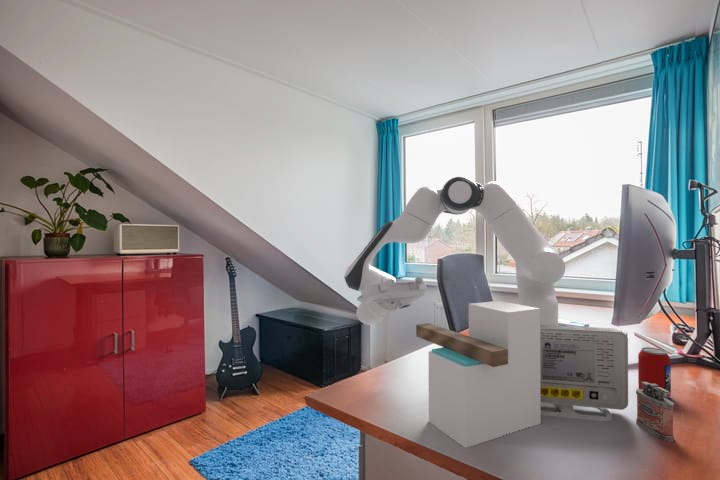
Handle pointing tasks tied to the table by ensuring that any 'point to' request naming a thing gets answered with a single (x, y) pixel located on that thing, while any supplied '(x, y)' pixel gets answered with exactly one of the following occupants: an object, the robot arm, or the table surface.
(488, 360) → the walnut block
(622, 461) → the table surface
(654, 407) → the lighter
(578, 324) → the light bulb box
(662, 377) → the beverage can
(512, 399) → the stepped stand
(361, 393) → the table surface
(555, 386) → the network device
